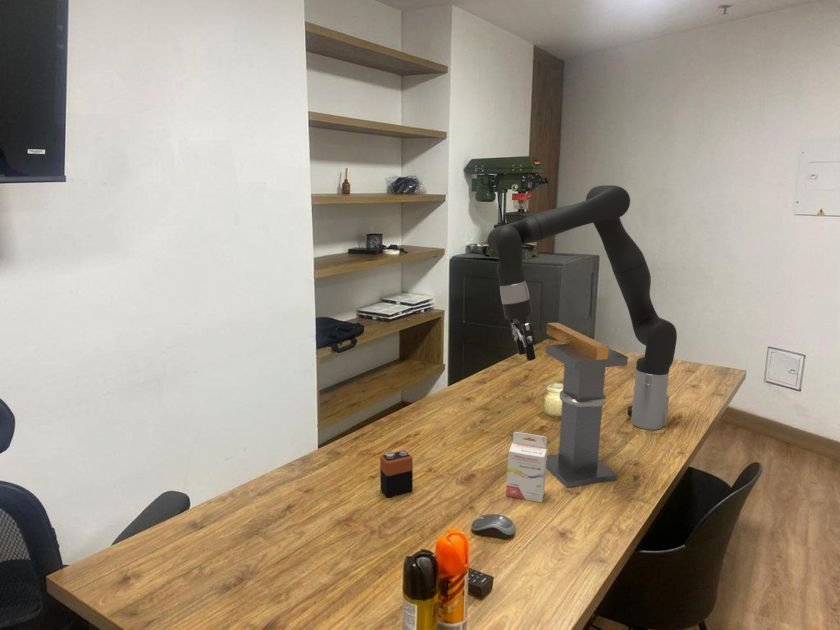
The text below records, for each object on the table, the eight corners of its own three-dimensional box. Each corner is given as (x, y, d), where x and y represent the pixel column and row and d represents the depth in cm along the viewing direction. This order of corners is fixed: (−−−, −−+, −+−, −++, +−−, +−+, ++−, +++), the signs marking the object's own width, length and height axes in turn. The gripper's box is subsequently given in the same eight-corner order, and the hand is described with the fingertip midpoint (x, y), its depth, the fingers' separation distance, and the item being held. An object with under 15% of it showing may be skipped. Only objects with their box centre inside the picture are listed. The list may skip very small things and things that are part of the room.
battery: (379, 489, 141) (379, 451, 139) (405, 483, 144) (405, 445, 142) (387, 498, 137) (386, 459, 135) (413, 491, 140) (413, 453, 138)
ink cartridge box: (505, 496, 138) (507, 438, 135) (509, 486, 143) (511, 430, 139) (542, 503, 135) (545, 444, 132) (545, 492, 140) (548, 435, 137)
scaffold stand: (586, 454, 159) (594, 341, 151) (616, 479, 146) (627, 357, 138) (539, 461, 155) (546, 345, 148) (566, 487, 142) (575, 361, 135)
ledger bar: (556, 333, 159) (557, 322, 159) (607, 358, 137) (608, 346, 136) (546, 333, 159) (547, 323, 158) (596, 359, 136) (597, 347, 135)
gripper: (536, 298, 151) (548, 358, 154) (521, 294, 166) (532, 349, 168) (508, 305, 151) (520, 365, 153) (496, 300, 165) (507, 355, 167)
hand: (527, 356), depth 161 cm, fingers open, 8 cm apart
